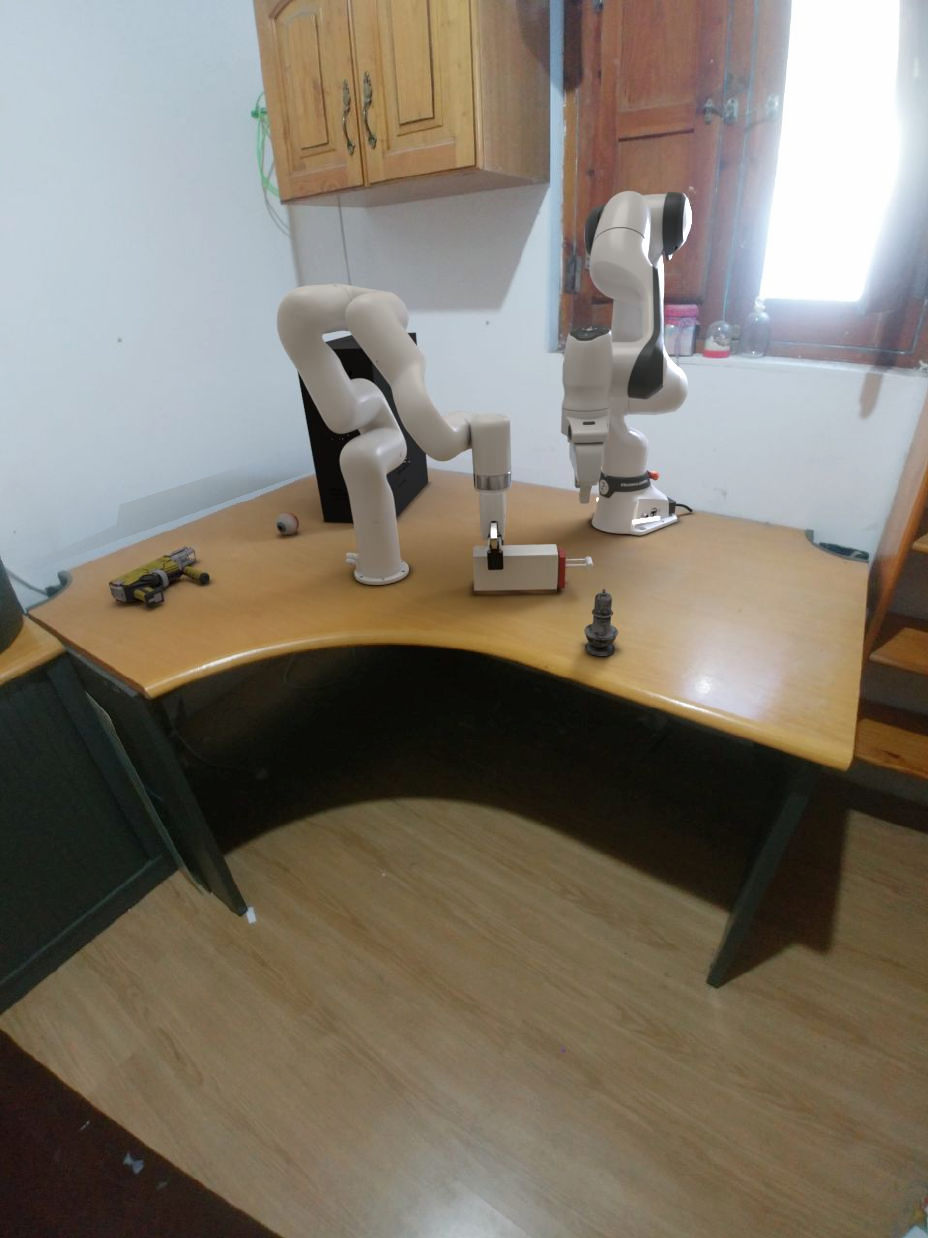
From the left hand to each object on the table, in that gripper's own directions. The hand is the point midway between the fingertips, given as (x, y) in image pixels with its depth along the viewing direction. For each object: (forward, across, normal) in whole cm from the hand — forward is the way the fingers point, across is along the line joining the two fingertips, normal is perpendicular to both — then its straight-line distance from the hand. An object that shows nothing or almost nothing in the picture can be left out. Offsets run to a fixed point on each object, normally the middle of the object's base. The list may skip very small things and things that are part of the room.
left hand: (496, 559), depth 127 cm
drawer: (+6, 0, +9) cm, 11 cm away
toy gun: (+6, -5, -75) cm, 76 cm away
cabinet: (+7, 0, +4) cm, 8 cm away
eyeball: (+6, -35, -57) cm, 67 cm away
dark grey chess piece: (+7, +24, +19) cm, 32 cm away
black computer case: (+6, -61, -37) cm, 71 cm away
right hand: (-13, 0, +18) cm, 22 cm away
